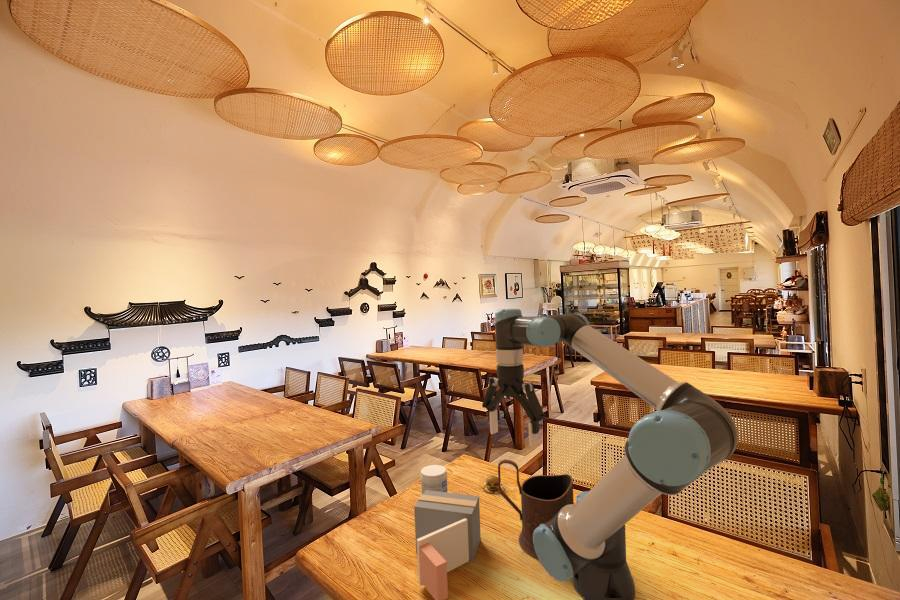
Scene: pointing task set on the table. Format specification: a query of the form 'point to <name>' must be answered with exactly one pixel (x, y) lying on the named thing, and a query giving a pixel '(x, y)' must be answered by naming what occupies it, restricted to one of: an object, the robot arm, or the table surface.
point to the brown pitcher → (538, 502)
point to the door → (442, 556)
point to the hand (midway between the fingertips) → (512, 438)
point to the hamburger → (492, 482)
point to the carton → (448, 515)
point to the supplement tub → (434, 478)
